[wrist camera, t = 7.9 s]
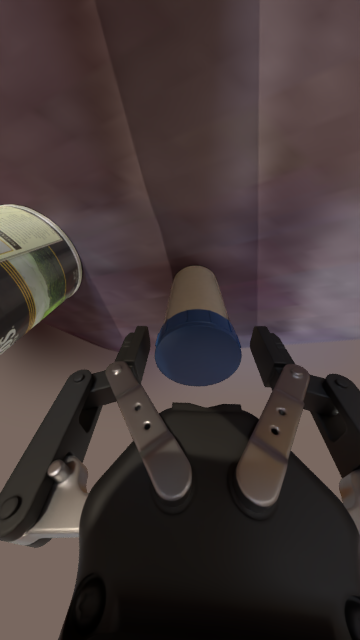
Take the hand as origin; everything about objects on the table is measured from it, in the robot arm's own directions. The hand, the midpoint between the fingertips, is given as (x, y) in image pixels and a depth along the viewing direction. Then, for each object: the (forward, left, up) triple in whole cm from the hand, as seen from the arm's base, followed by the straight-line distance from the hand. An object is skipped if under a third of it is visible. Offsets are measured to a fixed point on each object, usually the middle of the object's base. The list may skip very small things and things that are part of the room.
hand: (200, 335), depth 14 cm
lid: (0, 0, +2) cm, 2 cm away
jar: (0, 0, -9) cm, 9 cm away
